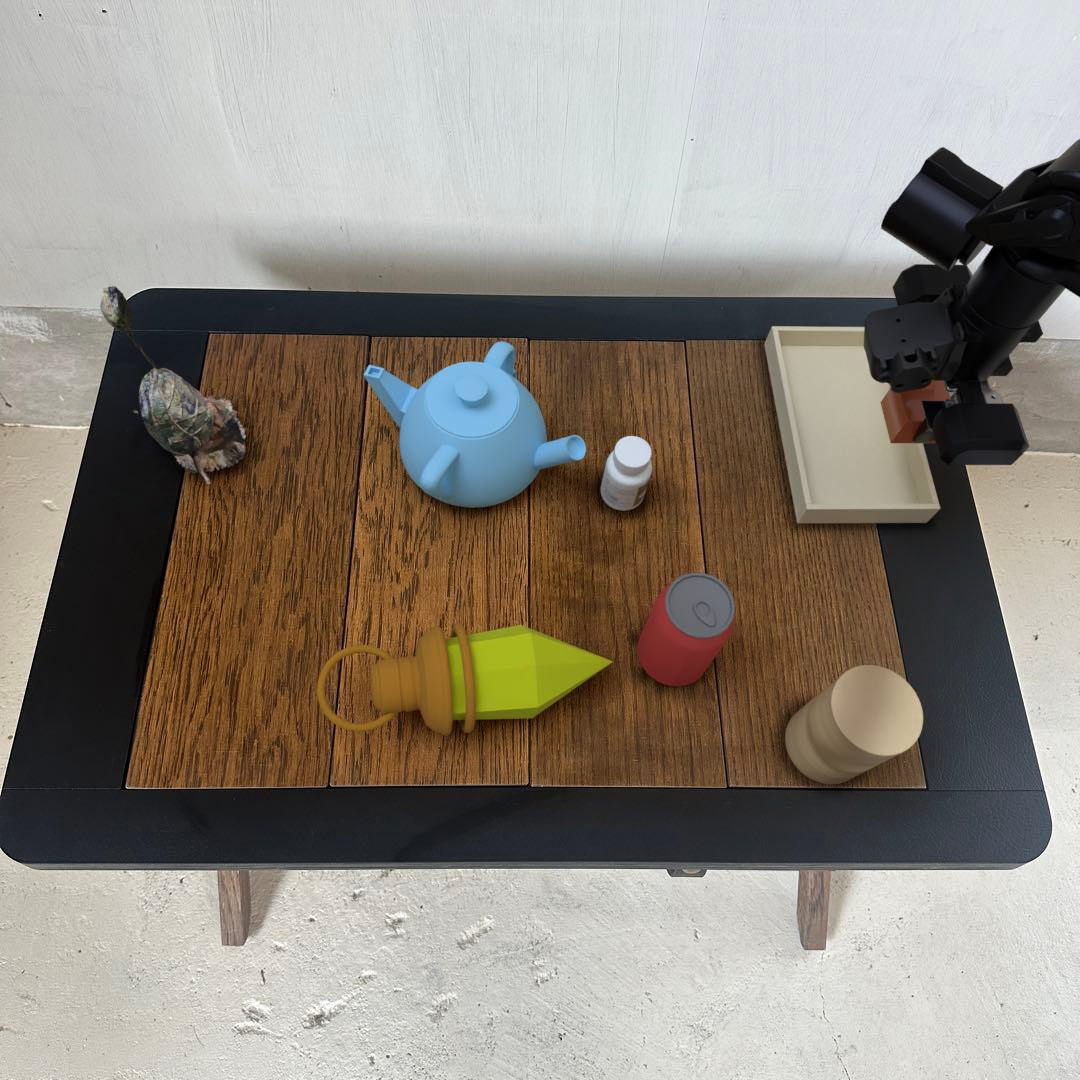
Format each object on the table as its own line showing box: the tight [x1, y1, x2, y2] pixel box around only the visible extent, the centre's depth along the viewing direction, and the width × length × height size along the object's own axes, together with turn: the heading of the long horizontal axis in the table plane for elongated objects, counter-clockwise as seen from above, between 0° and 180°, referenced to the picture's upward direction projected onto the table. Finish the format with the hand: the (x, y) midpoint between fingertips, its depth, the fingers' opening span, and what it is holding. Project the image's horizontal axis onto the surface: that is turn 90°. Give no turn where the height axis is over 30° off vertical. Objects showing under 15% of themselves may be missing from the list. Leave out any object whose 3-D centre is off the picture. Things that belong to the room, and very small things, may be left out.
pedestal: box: [784, 664, 924, 785], centre depth 69 cm, size 7×7×12 cm
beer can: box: [637, 572, 736, 687], centre depth 72 cm, size 7×7×12 cm
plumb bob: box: [316, 623, 614, 737], centre depth 71 cm, size 9×9×25 cm
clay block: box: [881, 379, 951, 444], centre depth 76 cm, size 4×4×4 cm
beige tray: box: [763, 325, 941, 524], centre depth 88 cm, size 22×13×3 cm, turn 2°
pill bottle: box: [600, 435, 653, 512], centre depth 81 cm, size 4×4×8 cm
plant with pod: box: [99, 285, 247, 486], centre depth 76 cm, size 8×11×20 cm
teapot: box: [363, 340, 587, 508], centre depth 81 cm, size 15×17×11 cm
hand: (912, 419), depth 77 cm, fingers closed on clay block, 4 cm apart
